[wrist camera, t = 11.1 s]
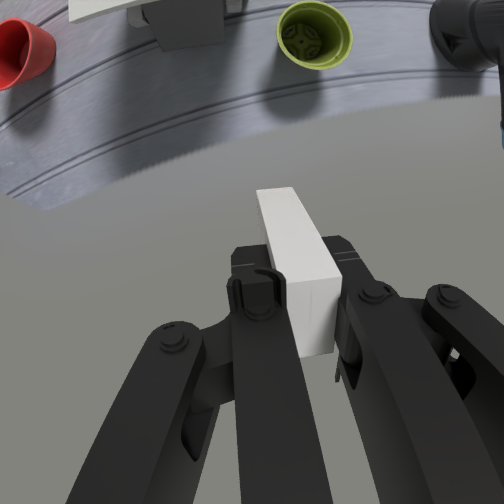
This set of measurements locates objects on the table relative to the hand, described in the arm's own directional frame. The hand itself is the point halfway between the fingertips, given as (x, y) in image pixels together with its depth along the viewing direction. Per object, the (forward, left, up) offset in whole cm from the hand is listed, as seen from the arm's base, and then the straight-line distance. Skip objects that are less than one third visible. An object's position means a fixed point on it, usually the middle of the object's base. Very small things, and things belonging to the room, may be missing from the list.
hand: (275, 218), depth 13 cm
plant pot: (-6, -14, -35) cm, 38 cm away
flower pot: (+35, -10, -35) cm, 50 cm away
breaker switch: (+8, -11, -30) cm, 33 cm away
